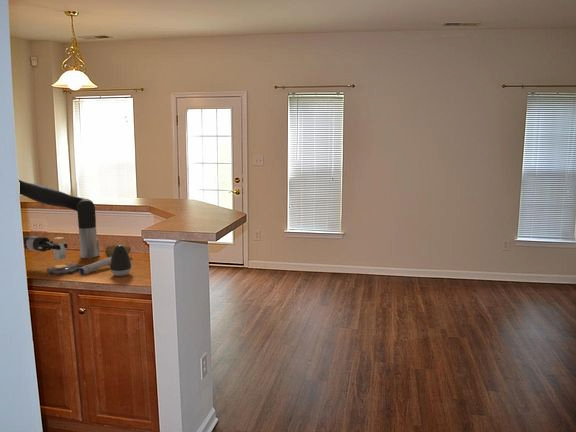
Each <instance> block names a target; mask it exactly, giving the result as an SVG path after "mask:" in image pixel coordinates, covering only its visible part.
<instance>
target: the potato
mask: <svg viewBox="0 0 576 432" xmlns="http://www.w3.org/2000/svg"><path fill="white" fill-rule="evenodd" d="M119 245H121V246H124V247H125V249H126V250H127V252H128V254H130V253H131V251H132V249H131V246H130V245H129V244H126V243H112V244H108V245H106V247H105V256H106V257H107V258H110V257H112V253H113V250H114V249H115V247H116V246H119Z"/></svg>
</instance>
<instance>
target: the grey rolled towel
mask: <svg viewBox="0 0 576 432" xmlns="http://www.w3.org/2000/svg"><path fill="white" fill-rule="evenodd" d="M110 262H111V257H110V258H108V257H107V258H104V259H101V260H98V261H95V262H93V263H90V264H86V265H84V266H81V267H82V268H80V269H79V271H78V272H79V274H80V275H82V276H85V275H87V274H90V273H92V272H94V271H96V270H99V269H101V268H103V267H106V266H108V265H110Z"/></svg>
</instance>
